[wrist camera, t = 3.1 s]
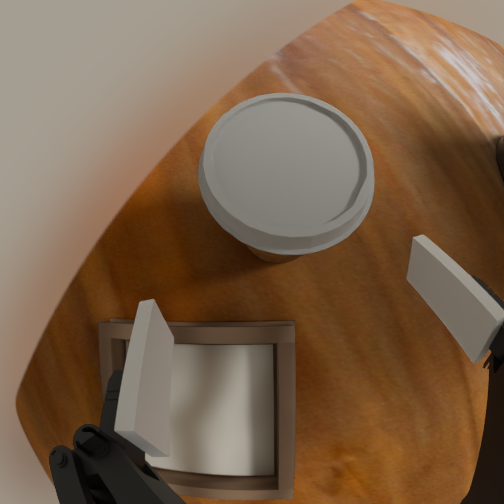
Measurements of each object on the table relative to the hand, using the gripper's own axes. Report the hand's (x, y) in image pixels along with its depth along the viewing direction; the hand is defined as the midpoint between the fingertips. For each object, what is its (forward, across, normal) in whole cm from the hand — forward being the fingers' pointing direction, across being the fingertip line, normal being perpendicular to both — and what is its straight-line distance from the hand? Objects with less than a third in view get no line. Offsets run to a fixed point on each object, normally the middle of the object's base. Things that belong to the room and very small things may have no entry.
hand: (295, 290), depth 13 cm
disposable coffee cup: (+12, +1, -3) cm, 12 cm away
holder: (+2, -9, -13) cm, 16 cm away
